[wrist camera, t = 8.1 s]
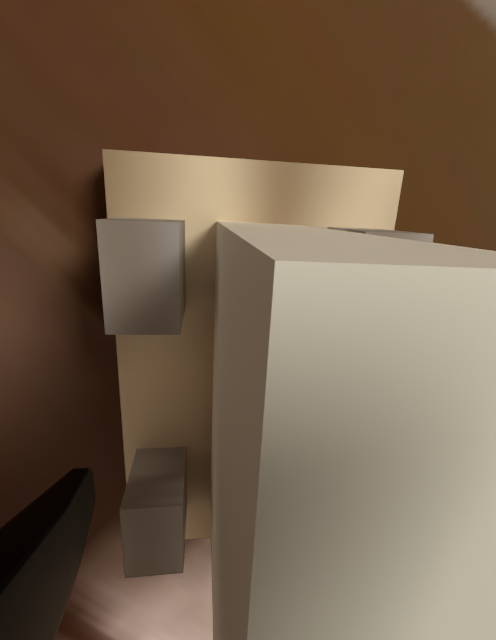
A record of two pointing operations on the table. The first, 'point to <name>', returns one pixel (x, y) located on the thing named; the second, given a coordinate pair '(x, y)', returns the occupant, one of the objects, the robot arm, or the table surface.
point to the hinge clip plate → (195, 312)
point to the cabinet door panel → (352, 437)
